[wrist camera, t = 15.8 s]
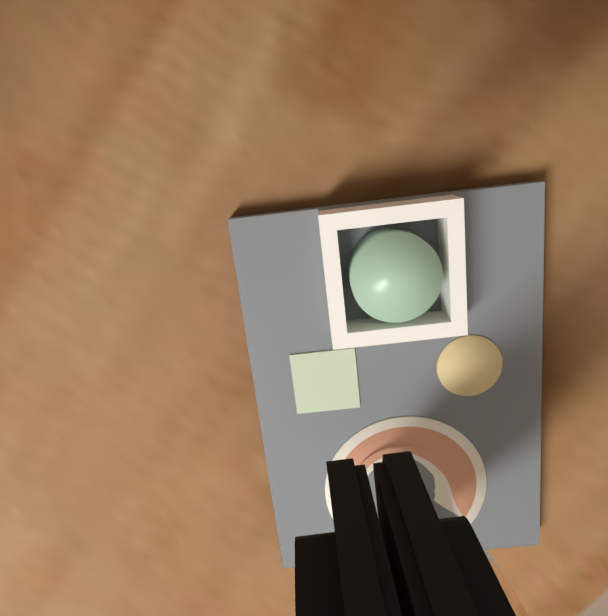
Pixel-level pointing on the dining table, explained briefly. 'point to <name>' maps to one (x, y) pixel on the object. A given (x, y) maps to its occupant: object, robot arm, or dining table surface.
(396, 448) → the beer glass
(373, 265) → the button
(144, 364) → the dining table surface
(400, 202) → the picture board
